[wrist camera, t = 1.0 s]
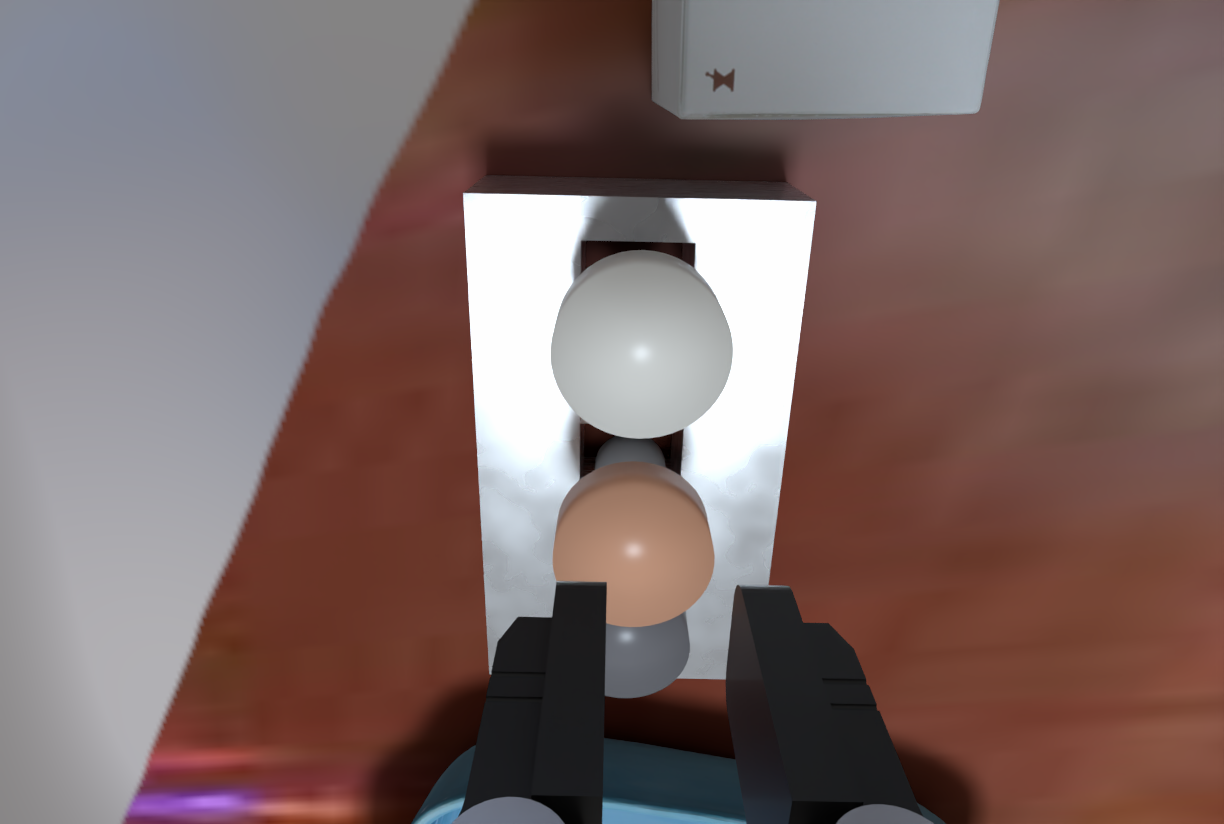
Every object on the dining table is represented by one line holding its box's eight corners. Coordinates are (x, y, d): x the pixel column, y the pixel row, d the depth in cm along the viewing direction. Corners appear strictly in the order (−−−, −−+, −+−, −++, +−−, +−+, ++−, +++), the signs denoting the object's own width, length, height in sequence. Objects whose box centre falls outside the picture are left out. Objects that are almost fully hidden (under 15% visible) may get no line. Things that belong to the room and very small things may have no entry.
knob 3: (680, 509, 36) (693, 597, 30) (674, 599, 38) (686, 699, 32) (570, 506, 36) (561, 595, 30) (570, 597, 38) (561, 696, 32)
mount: (786, 181, 31) (816, 201, 26) (740, 609, 39) (756, 679, 35) (486, 175, 31) (463, 193, 26) (504, 604, 39) (489, 674, 35)
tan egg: (699, 406, 30) (720, 493, 24) (690, 521, 32) (708, 629, 26) (564, 403, 30) (551, 489, 24) (565, 519, 32) (553, 625, 26)
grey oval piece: (713, 223, 27) (741, 267, 21) (702, 362, 29) (725, 440, 23) (564, 219, 27) (549, 263, 21) (564, 359, 29) (550, 436, 23)
